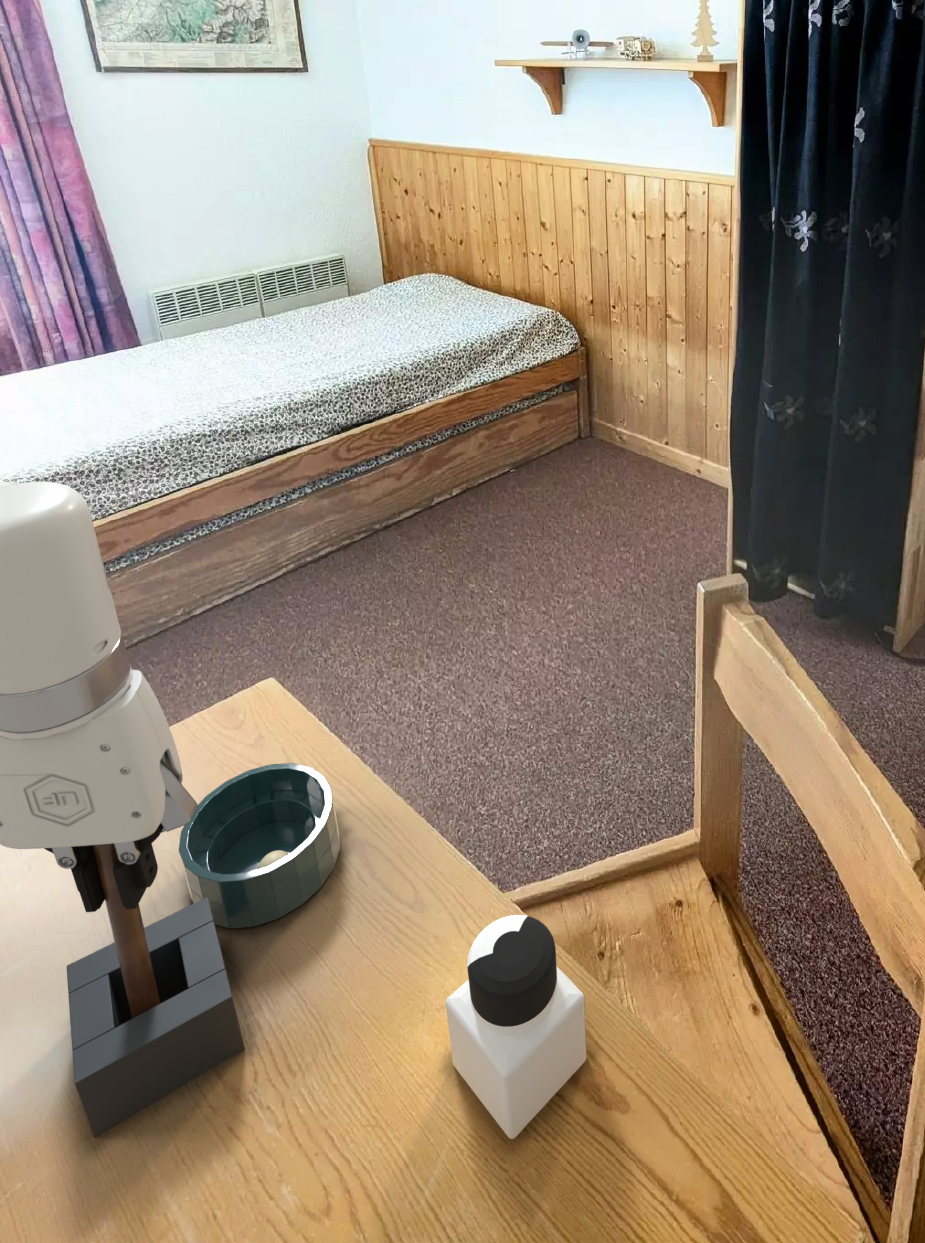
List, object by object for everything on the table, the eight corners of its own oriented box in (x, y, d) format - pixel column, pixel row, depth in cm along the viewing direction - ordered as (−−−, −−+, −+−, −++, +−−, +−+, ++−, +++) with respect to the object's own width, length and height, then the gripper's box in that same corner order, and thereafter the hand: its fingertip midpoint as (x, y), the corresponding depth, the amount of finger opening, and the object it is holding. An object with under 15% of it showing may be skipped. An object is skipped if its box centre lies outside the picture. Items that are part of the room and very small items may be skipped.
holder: (84, 1019, 66) (66, 965, 64) (220, 948, 71) (207, 896, 69) (95, 1141, 59) (74, 1084, 57) (245, 1051, 64) (232, 996, 62)
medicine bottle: (588, 1060, 63) (584, 946, 59) (511, 1144, 59) (501, 1026, 54) (527, 992, 68) (519, 881, 64) (451, 1065, 63) (437, 950, 59)
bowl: (166, 938, 72) (152, 886, 70) (224, 814, 84) (213, 767, 82) (318, 927, 73) (308, 876, 71) (355, 806, 85) (347, 759, 82)
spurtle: (132, 1045, 62) (85, 841, 57) (141, 1020, 64) (96, 821, 59) (159, 1039, 62) (115, 837, 57) (167, 1015, 64) (125, 816, 59)
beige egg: (257, 891, 73) (267, 901, 75) (293, 870, 74) (301, 881, 76) (248, 858, 75) (258, 869, 77) (283, 838, 76) (292, 850, 78)
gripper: (-125, 729, 49) (-34, 954, 56) (162, 713, 50) (218, 935, 57) (-36, 644, 56) (35, 852, 63) (214, 631, 57) (258, 837, 64)
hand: (122, 890), depth 60 cm, fingers closed on spurtle, 1 cm apart
